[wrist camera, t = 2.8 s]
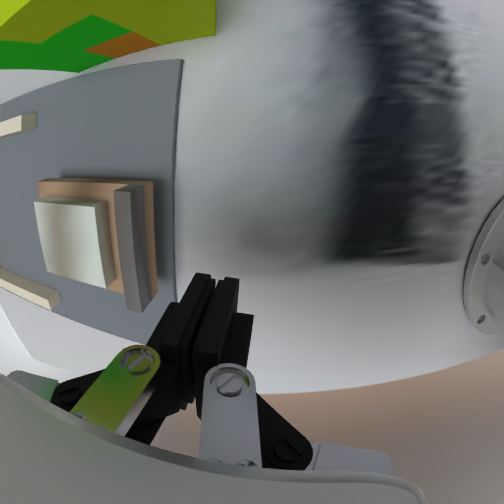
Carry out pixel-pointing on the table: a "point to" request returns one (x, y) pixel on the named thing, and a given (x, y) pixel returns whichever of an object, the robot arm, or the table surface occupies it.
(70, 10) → the puzzle toy
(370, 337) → the table surface
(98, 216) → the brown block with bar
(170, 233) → the mat
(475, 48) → the table surface
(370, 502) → the robot arm
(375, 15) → the table surface
